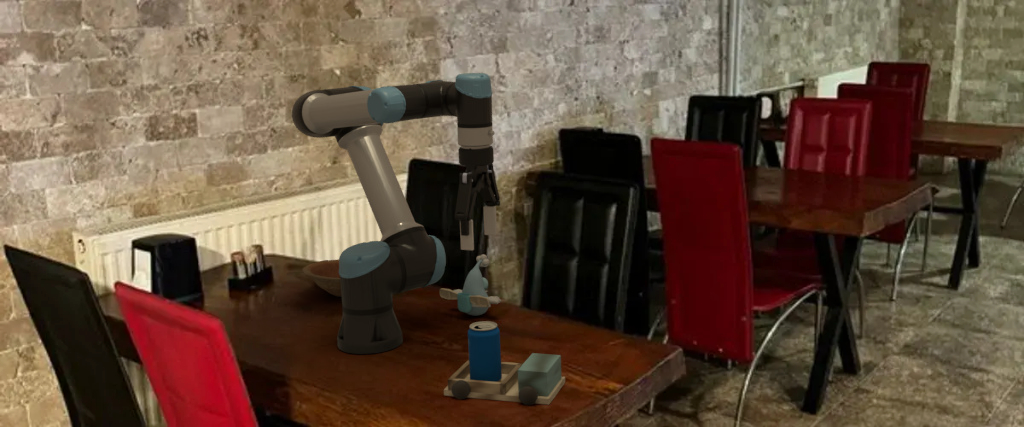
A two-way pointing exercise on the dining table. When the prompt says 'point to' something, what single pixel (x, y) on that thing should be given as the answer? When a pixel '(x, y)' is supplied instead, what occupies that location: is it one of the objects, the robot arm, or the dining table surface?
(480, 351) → the beverage can
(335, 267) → the bowl
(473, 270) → the toy figure
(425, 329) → the dining table surface
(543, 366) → the toy truck
